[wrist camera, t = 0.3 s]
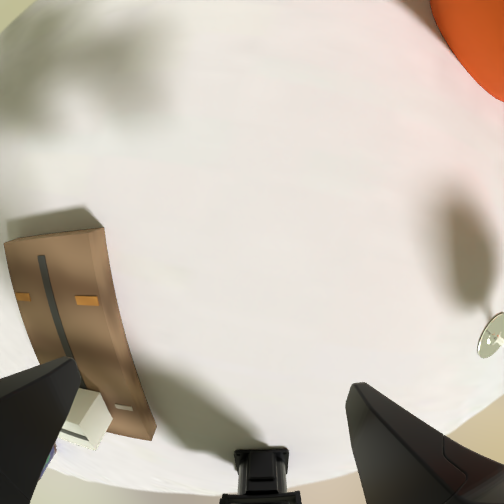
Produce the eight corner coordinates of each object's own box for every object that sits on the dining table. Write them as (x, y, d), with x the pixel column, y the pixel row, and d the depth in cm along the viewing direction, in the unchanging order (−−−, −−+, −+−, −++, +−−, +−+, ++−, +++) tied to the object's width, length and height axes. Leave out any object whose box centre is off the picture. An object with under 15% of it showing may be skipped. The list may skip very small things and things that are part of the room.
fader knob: (112, 418, 23) (95, 451, 18) (77, 410, 23) (58, 438, 18) (99, 392, 22) (78, 425, 17) (64, 384, 22) (41, 412, 17)
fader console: (156, 426, 26) (151, 441, 24) (77, 409, 27) (69, 421, 24) (104, 227, 21) (87, 233, 18) (19, 237, 21) (2, 243, 19)
